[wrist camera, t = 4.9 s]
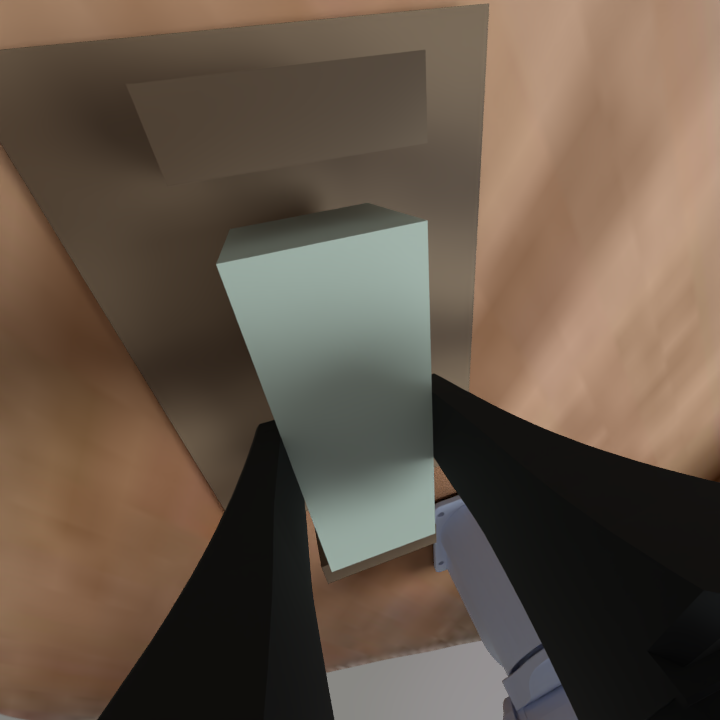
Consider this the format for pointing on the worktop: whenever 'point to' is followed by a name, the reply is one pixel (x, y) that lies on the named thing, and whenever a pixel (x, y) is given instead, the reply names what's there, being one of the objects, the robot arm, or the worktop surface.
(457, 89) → the peg base
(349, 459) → the pale green block
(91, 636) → the worktop surface
